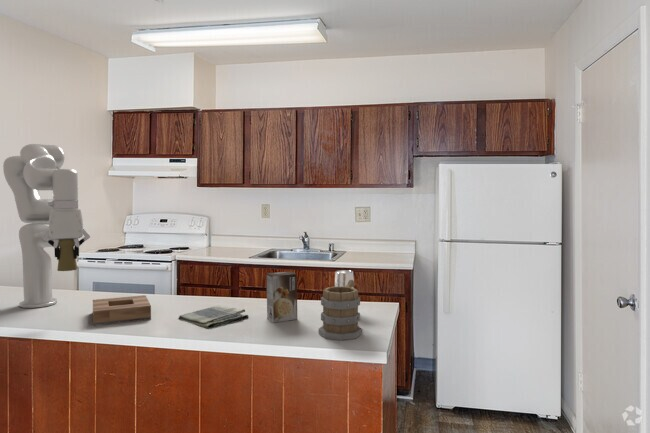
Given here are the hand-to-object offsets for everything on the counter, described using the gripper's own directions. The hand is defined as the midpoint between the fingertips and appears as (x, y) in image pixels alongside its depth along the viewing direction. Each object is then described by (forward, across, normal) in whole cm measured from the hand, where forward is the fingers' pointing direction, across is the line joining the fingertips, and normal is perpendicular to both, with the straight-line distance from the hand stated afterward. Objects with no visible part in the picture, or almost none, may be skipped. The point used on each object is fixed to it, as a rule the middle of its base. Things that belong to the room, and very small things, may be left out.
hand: (67, 258), depth 163 cm
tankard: (+21, +80, -52) cm, 98 cm away
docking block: (+21, +17, -3) cm, 27 cm away
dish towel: (+22, +46, -20) cm, 54 cm away
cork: (+4, 0, 0) cm, 4 cm away
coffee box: (+21, +67, -30) cm, 76 cm away
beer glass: (+21, +91, -31) cm, 98 cm away
